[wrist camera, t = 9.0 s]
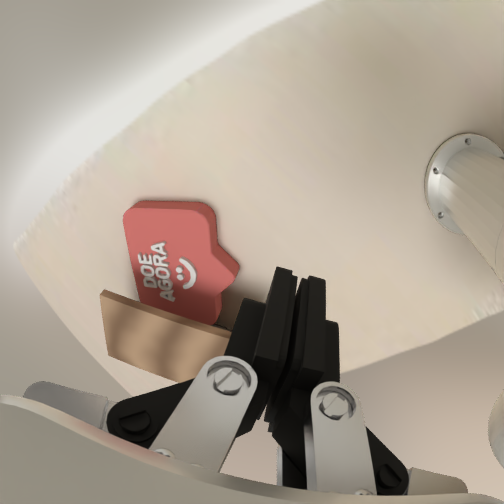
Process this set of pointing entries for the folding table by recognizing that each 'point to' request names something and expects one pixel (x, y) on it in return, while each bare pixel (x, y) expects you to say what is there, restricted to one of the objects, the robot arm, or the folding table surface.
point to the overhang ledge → (159, 338)
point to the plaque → (178, 258)
